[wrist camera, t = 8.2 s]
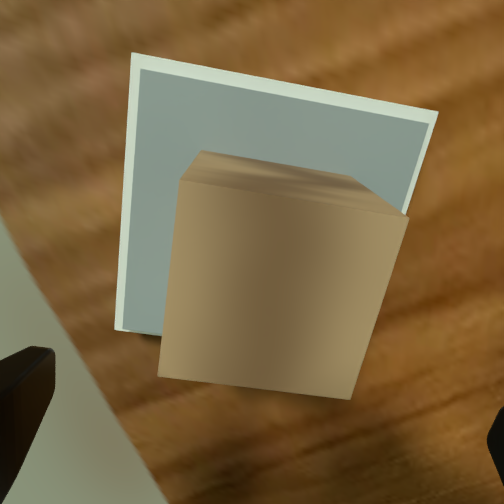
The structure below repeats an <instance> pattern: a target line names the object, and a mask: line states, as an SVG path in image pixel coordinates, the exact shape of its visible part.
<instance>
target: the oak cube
mask: <svg viewBox="0 0 504 504" xmlns="http://www.w3.org/2000/svg"><path fill="white" fill-rule="evenodd" d="M408 221H409V217H407V216H406V215H405V214H403V213H402V212H400V211H399V210H398V209H396V208H395V207H393V206H392V205H391V204H389V203H388V202H386V201H385V200H384V199H382V198H381V197H379V196H378V195H377V194H375V193H374V192H372V191H371V190H370V189H368V188H367V187H365V186H364V185H363V184H361V183H360V182H358V181H357V180H356V179H354V178H353V177H351V176H349V175H343V174H337V173H331V172H326V171H320V170H314V169H308V168H303V167H297V166H291V165H285V164H280V163H274V162H268V161H262V160H257V159H251V158H245V157H239V156H234V155H228V154H222V153H216V152H211V151H205V150H201V151H200V152H199V153H198V155H197V156H196V158H195V159H194V160H193V162H192V163H191V164H190V166H189V167H188V169H187V170H186V171H185V173H184V174H183V175H182V177H181V178H180V179H179V187H178V196H177V205H176V214H175V223H174V232H173V242H172V251H171V260H170V269H169V278H168V287H167V296H166V305H165V314H164V323H163V332H162V341H161V350H160V359H159V368H158V376H159V377H167V378H175V379H184V380H192V381H200V382H208V383H216V384H224V385H233V386H241V387H249V388H257V389H265V390H273V391H281V392H290V393H298V394H306V395H314V396H322V397H330V398H338V399H347V400H350V399H351V396H352V392H353V389H354V386H355V383H356V380H357V377H358V374H359V371H360V368H361V365H362V362H363V359H364V356H365V353H366V350H367V347H368V344H369V340H370V337H371V334H372V331H373V328H374V325H375V322H376V319H377V316H378V313H379V310H380V307H381V304H382V301H383V298H384V295H385V292H386V288H387V285H388V282H389V279H390V276H391V273H392V270H393V267H394V264H395V261H396V258H397V255H398V252H399V249H400V246H401V243H402V240H403V237H404V233H405V230H406V227H407V224H408Z"/></svg>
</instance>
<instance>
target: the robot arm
mask: <svg viewBox="0 0 504 504" xmlns="http://www.w3.org/2000/svg"><path fill="white" fill-rule="evenodd" d="M54 390H55V352H54V350H53V349H51V348H45V347H37V346H30V347H27V348H25V349H23V350H21V351H19V352H17V353H15V354H13V355H10V356H8V357H6V358H4V359H2V360H0V504H2V502H3V500H4V499H5V497H6V495H7V494H8V492H9V490H10V488H11V486H12V485H13V483H14V481H15V479H16V477H17V475H18V473H19V471H20V469H21V466H22V465H23V462H24V460H25V458H26V455H27V453H28V451H29V449H30V446H31V444H32V442H33V440H34V438H35V435H36V433H37V431H38V428H39V426H40V424H41V422H42V419H43V417H44V415H45V412H46V410H47V408H48V406H49V404H50V401H51V399H52V397H53V393H54ZM487 446H488V449H489V451H490V454H491V456H492V459H493V461H494V464H495V466H496V469H497V471H498V474H499V476H500V478H501V481H502V483H503V486H504V406H503V407H502V408H501V409H500V410H499V412H498V414H497V416H496V418H495V420H494V422H493V424H492V426H491V428H490V430H489V432H488V435H487Z"/></svg>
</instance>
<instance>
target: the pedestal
mask: <svg viewBox="0 0 504 504" xmlns="http://www.w3.org/2000/svg"><path fill="white" fill-rule="evenodd" d="M437 116H438V112H437V111H432V110H427V109H422V108H416V107H411V106H406V105H401V104H396V103H391V102H385V101H380V100H375V99H370V98H365V97H360V96H354V95H349V94H344V93H339V92H334V91H329V90H323V89H318V88H313V87H308V86H303V85H298V84H292V83H287V82H282V81H277V80H272V79H267V78H261V77H256V76H251V75H246V74H241V73H236V72H230V71H225V70H220V69H215V68H210V67H205V66H199V65H194V64H189V63H184V62H179V61H174V60H168V59H163V58H158V57H153V56H148V55H143V54H137V53H132V54H131V70H130V86H129V103H128V119H127V135H126V151H125V167H124V184H123V200H122V216H121V232H120V248H119V265H118V281H117V297H116V313H115V329H114V330H120V331H127V332H135V333H143V334H150V335H158V336H162V332H163V323H164V314H165V305H166V296H167V287H168V278H169V269H170V260H171V251H172V242H173V232H174V223H175V214H176V205H177V196H178V187H179V179H180V178H181V177H182V175H183V174H184V173H185V171H186V170H187V169H188V167H189V166H190V164H191V163H192V162H193V160H194V159H195V158H196V156H197V155H198V153H199V152H200V151H201V150H205V151H211V152H216V153H222V154H228V155H234V156H239V157H245V158H251V159H257V160H262V161H268V162H274V163H280V164H285V165H291V166H297V167H303V168H308V169H314V170H320V171H326V172H331V173H337V174H343V175H349V176H351V177H353V178H354V179H356V180H357V181H358V182H360V183H361V184H363V185H364V186H365V187H367V188H368V189H370V190H371V191H372V192H374V193H375V194H377V195H378V196H379V197H381V198H382V199H384V200H385V201H386V202H388V203H389V204H391V205H392V206H393V207H395V208H396V209H398V210H399V211H400V212H402V213H403V214H405V215H406V212H407V208H408V205H409V202H410V199H411V196H412V193H413V190H414V187H415V184H416V181H417V177H418V174H419V171H420V168H421V165H422V162H423V159H424V156H425V153H426V150H427V147H428V143H429V140H430V137H431V134H432V131H433V128H434V125H435V122H436V119H437Z"/></svg>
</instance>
